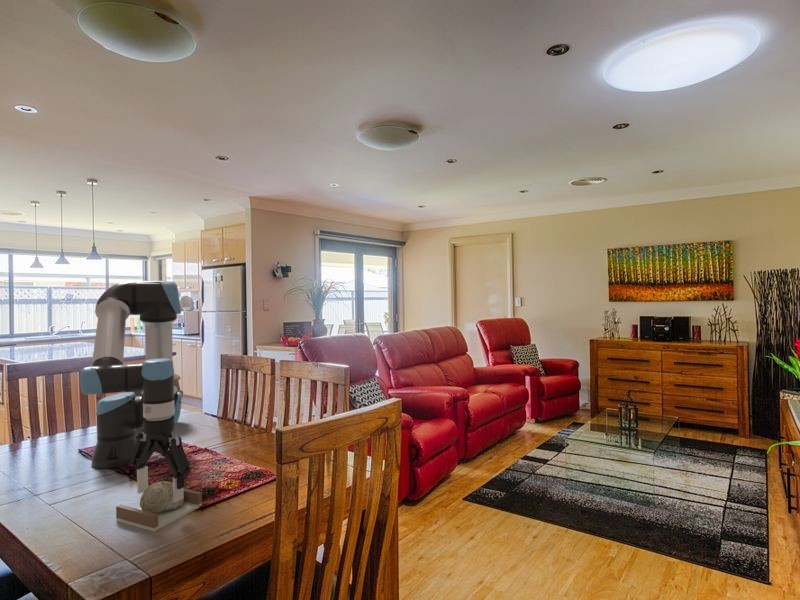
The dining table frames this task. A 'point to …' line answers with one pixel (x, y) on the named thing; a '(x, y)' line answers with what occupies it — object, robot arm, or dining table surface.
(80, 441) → the dining table surface
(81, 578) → the dining table surface
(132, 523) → the cradle
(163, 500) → the seashell
